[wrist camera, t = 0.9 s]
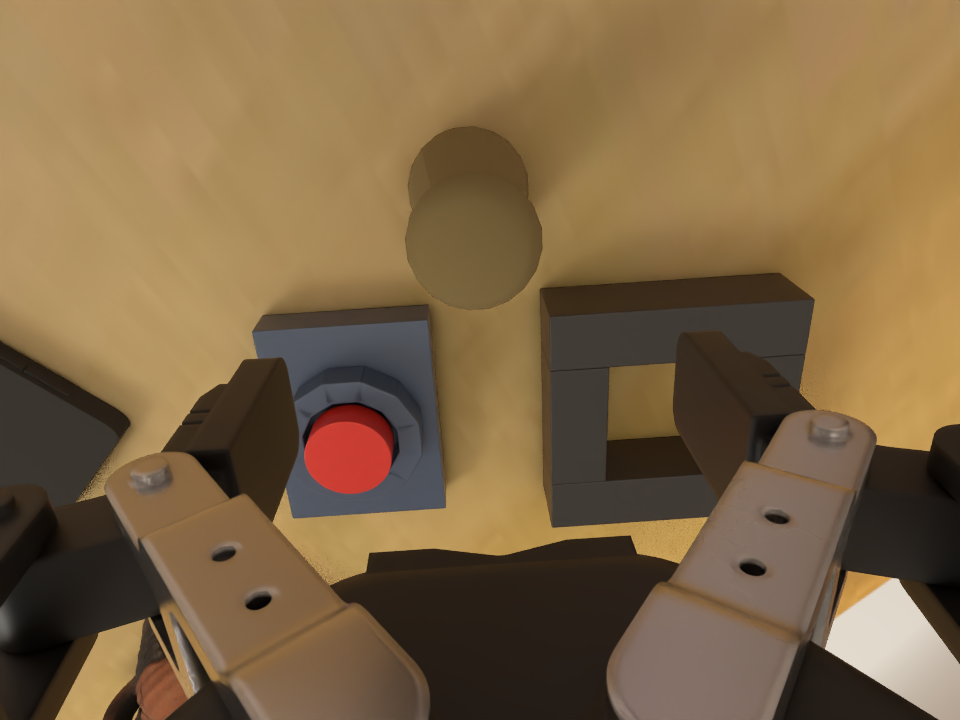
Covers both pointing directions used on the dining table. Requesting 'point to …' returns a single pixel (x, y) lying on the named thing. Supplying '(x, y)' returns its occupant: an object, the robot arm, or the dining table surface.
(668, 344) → the socket
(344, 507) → the power block
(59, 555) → the robot arm
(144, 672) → the brown looped knot
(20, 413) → the smart home device
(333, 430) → the power button
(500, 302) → the cork
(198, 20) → the dining table surface
